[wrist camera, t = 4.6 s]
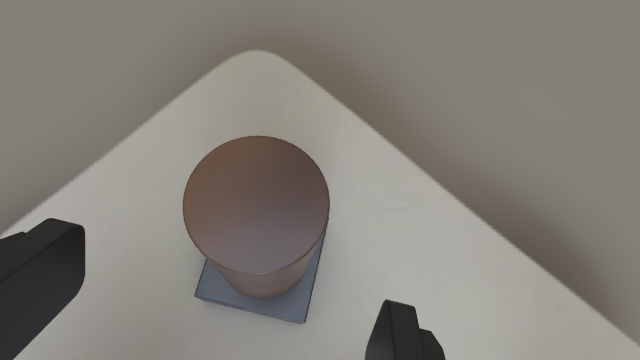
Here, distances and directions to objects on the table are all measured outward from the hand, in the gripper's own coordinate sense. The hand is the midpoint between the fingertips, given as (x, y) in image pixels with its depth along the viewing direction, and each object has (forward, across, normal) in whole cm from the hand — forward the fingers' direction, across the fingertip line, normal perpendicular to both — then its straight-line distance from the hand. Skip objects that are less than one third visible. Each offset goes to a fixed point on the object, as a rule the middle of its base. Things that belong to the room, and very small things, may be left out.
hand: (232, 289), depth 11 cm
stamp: (+8, 0, -5) cm, 10 cm away
